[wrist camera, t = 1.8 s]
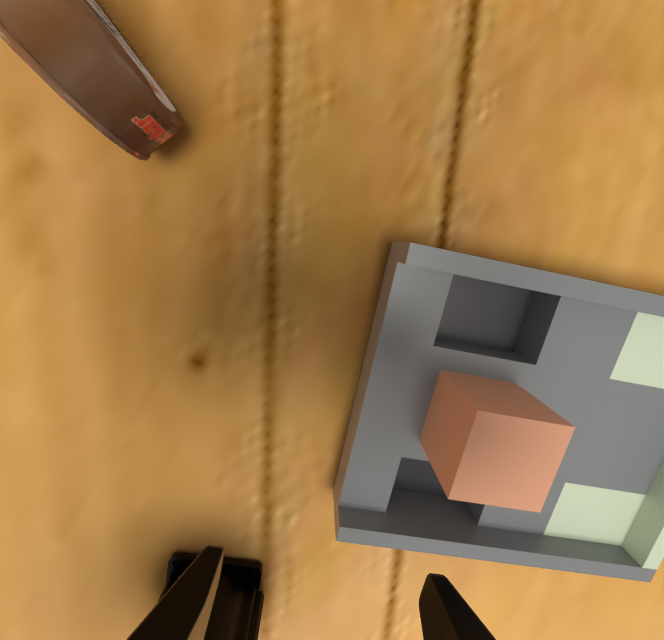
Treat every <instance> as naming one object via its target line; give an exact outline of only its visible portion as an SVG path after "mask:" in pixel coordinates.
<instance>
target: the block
mask: <svg viewBox="0 0 664 640" xmlns="http://www.w3.org/2000/svg"><path fill="white" fill-rule="evenodd" d="M574 430H575V426H573V425H572V424H571V423H569V422H568V421H566V420H565V419H564V418H562V417H561V416H560V415H558V414H557V413H556V412H554V411H553V410H552V409H550V408H549V407H548V406H546V405H545V404H544V403H542V402H541V401H539V400H538V399H537V398H535V397H534V396H533V395H531V394H530V393H529V392H527V391H526V390H525V389H523V388H522V387H521V386H519V385H518V384H516V383H512V382H506V381H501V380H495V379H490V378H484V377H479V376H473V375H468V374H462V373H456V372H451V371H445V370H440V372H439V375H438V378H437V382H436V385H435V388H434V392H433V395H432V399H431V402H430V405H429V409H428V412H427V416H426V419H425V422H424V426H423V429H422V432H421V436H420V439H419V441H420V443H421V445H422V447H423V449H424V451H425V453H426V456H427V458H428V460H429V462H430V464H431V466H432V468H433V470H434V472H435V474H436V476H437V478H438V480H439V482H440V484H441V486H442V488H443V490H444V492H445V494H446V496H447V498H448V499H451V500H457V501H464V502H471V503H478V504H485V505H492V506H499V507H505V508H512V509H519V510H526V511H533V512H541V509H542V507H543V505H544V502H545V500H546V497H547V495H548V493H549V490H550V488H551V485H552V483H553V480H554V478H555V476H556V473H557V471H558V468H559V466H560V463H561V461H562V459H563V456H564V454H565V451H566V449H567V447H568V444H569V442H570V439H571V437H572V434H573V432H574Z"/></svg>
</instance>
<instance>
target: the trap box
mask: <svg viewBox="0 0 664 640" xmlns="http://www.w3.org/2000/svg"><path fill="white" fill-rule="evenodd" d="M440 370H445V371H451V372H456V373H462V374H468V375H473V376H479V377H484V378H490V379H495V380H501V381H506V382H512V383H516V384H518V385H519V386H521V387H522V388H523V389H525V390H526V391H527V392H529V393H530V394H531V395H533V396H534V397H535V398H537V399H538V400H539V401H541V402H542V403H544V404H545V405H546V406H548V407H549V408H550V409H552V410H553V411H554V412H556V413H557V414H558V415H560V416H561V417H562V418H564V419H565V420H566V421H568V422H569V423H571V424H572V425H573V426H575V430H574V432H573V434H572V437H571V439H570V442H569V444H568V447H567V449H566V451H565V454H564V456H563V459H562V461H561V463H560V466H559V468H558V471H557V473H556V476H555V478H554V480H553V483H552V485H551V488H550V490H549V493H548V495H547V497H546V500H545V502H544V505H543V507H542V509H541V512H533V511H526V510H519V509H512V508H505V507H499V506H492V505H485V504H478V503H471V502H464V501H457V500H451V499H448V498H447V496H446V494H445V492H444V490H443V488H442V486H441V484H440V482H439V480H438V478H437V476H436V474H435V472H434V470H433V468H432V466H431V464H430V462H429V460H428V458H427V456H426V453H425V451H424V449H423V447H422V445H421V443H420V441H419V439H420V436H421V432H422V429H423V426H424V422H425V419H426V416H427V412H428V409H429V405H430V402H431V399H432V395H433V392H434V388H435V385H436V382H437V378H438V375H439V372H440ZM333 497H334V515H335V533H336V541H340V542H348V543H355V544H363V545H371V546H378V547H386V548H393V549H401V550H409V551H416V552H424V553H431V554H439V555H447V556H454V557H462V558H470V559H477V560H485V561H492V562H500V563H508V564H515V565H523V566H530V567H538V568H546V569H553V570H561V571H568V572H576V573H584V574H591V575H599V576H606V577H614V578H622V579H629V580H637V581H644V582H651V580H652V578H653V576H654V574H655V572H656V571H657V569H658V567H659V565H660V563H661V561H662V559H663V557H664V296H662V295H657V294H653V293H648V292H643V291H638V290H634V289H629V288H624V287H619V286H615V285H610V284H605V283H601V282H596V281H591V280H586V279H582V278H577V277H572V276H567V275H563V274H558V273H553V272H548V271H544V270H539V269H534V268H530V267H525V266H520V265H515V264H511V263H506V262H501V261H496V260H492V259H487V258H482V257H478V256H473V255H468V254H463V253H459V252H454V251H449V250H444V249H440V248H435V247H430V246H425V245H421V244H416V243H411V242H395V241H392V244H391V248H390V252H389V256H388V261H387V265H386V269H385V273H384V277H383V282H382V286H381V290H380V294H379V299H378V303H377V307H376V311H375V315H374V320H373V324H372V328H371V332H370V336H369V341H368V345H367V349H366V353H365V358H364V362H363V366H362V370H361V374H360V379H359V383H358V387H357V391H356V395H355V400H354V404H353V408H352V412H351V416H350V421H349V425H348V429H347V433H346V438H345V442H344V446H343V450H342V454H341V459H340V463H339V467H338V471H337V475H336V480H335V484H334V488H333Z"/></svg>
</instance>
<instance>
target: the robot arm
mask: <svg viewBox="0 0 664 640" xmlns="http://www.w3.org/2000/svg"><path fill="white" fill-rule="evenodd" d="M223 555H224V548H223V547H222V546H215V545H208V546H206V547H205V548H204V549H203V550H202V552H201V553H200V554H199V555H194V554H186V553H174V554H172V556H171V558H170V560H169V562H168V571H167V580H166V585H165V587H164V589H163V592H162V594H161V596H160V599H159V601H158V603H157V604H156V606H155V607H154V608H153V609H152V610H151V611H150V613H149V614H148V615H147V616H146V617H145V618H144V620H143V621H142V622H141V623H140V624H139V626H138V627H137V628H136V629H135V630H134V631H133V633H132V634H131V635H130V636H129V637H128V638H127V640H258V633H259V626H260V620H261V613H262V607H263V600H264V594H263V592H262V591H258V590H259V585H260V580H261V574H262V569H263V568H262V565H261V564H260V563H258V562H251V561H243V560H235V559H227V558H223ZM419 611H420V617H421V624H422V631H423V638H424V640H496V639H495V638H494V636H493V635H492V634H491V633H490V631H489V630H488V629H487V628H486V626H485V625H484V624H483V623H482V621H481V620H480V619H479V618H478V616H477V615H476V614H475V613H474V611H473V610H472V609H471V608H470V606H469V605H468V604H467V603H466V601H465V600H464V599H463V598H462V596H461V595H460V594H459V593H458V591H457V590H456V589H455V588H454V586H453V585H452V584H451V583H450V581H449V580H448V579H447V578H446V577H445V576H444V575H440V574H432V573H430V574H428V575H427V577H426V580H425V583H424V586H423V588H422V591H421V594H420V598H419Z"/></svg>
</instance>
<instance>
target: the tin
mask: <svg viewBox="0 0 664 640" xmlns="http://www.w3.org/2000/svg"><path fill="white" fill-rule="evenodd" d="M0 36H1V37H2V39H3V40H4V41H5V42H6V43H7V44H8V45H9V46H10V47H11V48H12V49H13V50H14V52H16V53H17V54H18V55H19V56H20V57H21V58H22V59H23V61H25V62H26V63H27V64H28V65H29V66H30V67H31V68H32V69H33V70H34V71H35V72H36V73H37V74H38V75H39V76H40V77H41V78H42V79H43V80H44V81H45V82H46V83H47V84H48V85H49V86H50V87H51V88H52V89H53V90H54V91H55V92H57V94H58V95H59V96H60V97H61V98H63V99H64V100H65V101H66V102H67V103H68V104H69V105H70V106H71V107H73V108H74V109H75V110H76V111H77V112H78V113H79V114H80V115H81V116H83V117H84V118H85V119H86V120H87V121H88V122H90V123H91V124H92V125H93V126H94V127H95V128H96V129H98V130H99V131H100V132H101V133H102V134H104V135H105V136H106V137H108V138H109V139H110V140H111V141H113V142H114V143H115V144H117V145H118V146H119V147H121V148H122V149H124V150H125V151H126V152H127V153H129V154H131V155H133V156H135V157H136V158H138V159H140V160H148V159H149V158H150V154H151V153H152V152H154V151H155V150H156V149H157V148H159V147H160V146H161V145H162V144H164V143H165V142H166V141H167V140H169V139H170V138H171V137H172V136H173V135H174V134H176V133H177V132H178V131H179V130H180V128H181V127H182V124H183V119H182V117H181V115H180V113H179V111H178V110H177V109H176V107H175V106H174V104H173V103H172V101H171V100H170V99H169V97H168V96H167V95H166V93H165V92H164V91H163V89H162V88H161V87H160V85H159V84H158V83H157V81H156V80H155V78H154V77H153V76H152V74H151V73H150V72H149V70H148V69H147V68H146V66H145V65H144V64H143V62H142V61H141V60H140V58H139V57H138V56H137V54H136V53H135V52H134V50H133V49H132V48H131V46H130V45H129V44H128V42H127V41H126V40H125V38H124V37H123V35H122V34H121V33H120V31H119V30H118V29H117V27H116V26H115V25H114V23H113V22H112V21H111V19H110V18H109V17H108V15H107V14H106V13H105V11H104V10H103V9H102V7H101V6H100V5H99V3H98V2H97V1H96V0H0Z"/></svg>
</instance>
